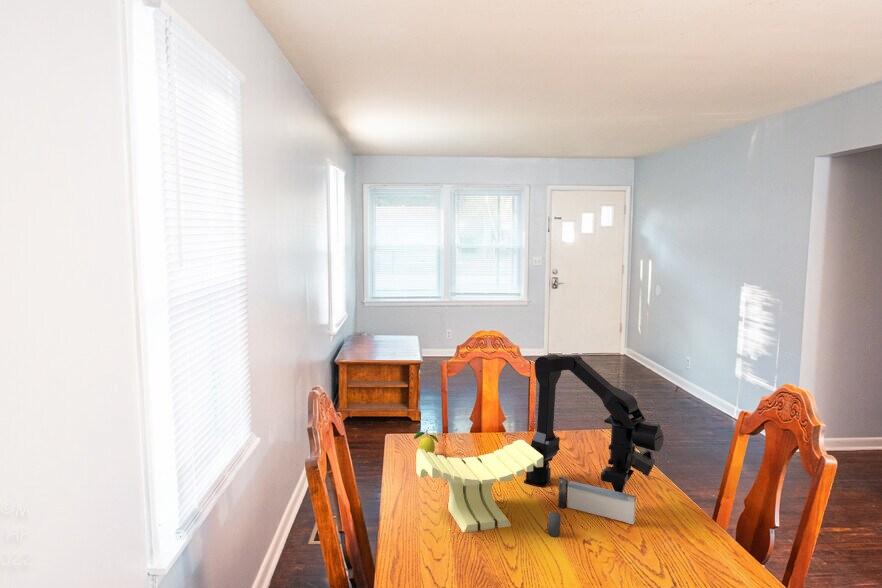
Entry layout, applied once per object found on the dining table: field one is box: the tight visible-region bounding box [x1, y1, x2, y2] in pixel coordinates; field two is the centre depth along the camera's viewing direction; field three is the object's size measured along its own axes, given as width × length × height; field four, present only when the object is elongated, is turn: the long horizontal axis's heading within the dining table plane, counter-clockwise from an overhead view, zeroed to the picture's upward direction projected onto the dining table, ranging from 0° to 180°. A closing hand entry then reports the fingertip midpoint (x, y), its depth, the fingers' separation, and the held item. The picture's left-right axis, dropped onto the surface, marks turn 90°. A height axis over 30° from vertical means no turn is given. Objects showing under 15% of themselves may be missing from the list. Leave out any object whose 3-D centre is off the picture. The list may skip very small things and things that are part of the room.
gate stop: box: [547, 511, 562, 538], centre depth 142 cm, size 3×3×5 cm
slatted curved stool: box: [415, 439, 543, 533], centre depth 151 cm, size 30×16×18 cm, turn 107°
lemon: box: [413, 430, 439, 454], centre depth 192 cm, size 7×6×10 cm
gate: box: [567, 480, 637, 525], centre depth 152 cm, size 18×2×7 cm, turn 59°
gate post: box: [557, 476, 569, 510], centre depth 157 cm, size 2×2×8 cm
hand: (619, 496), depth 155 cm, fingers closed
